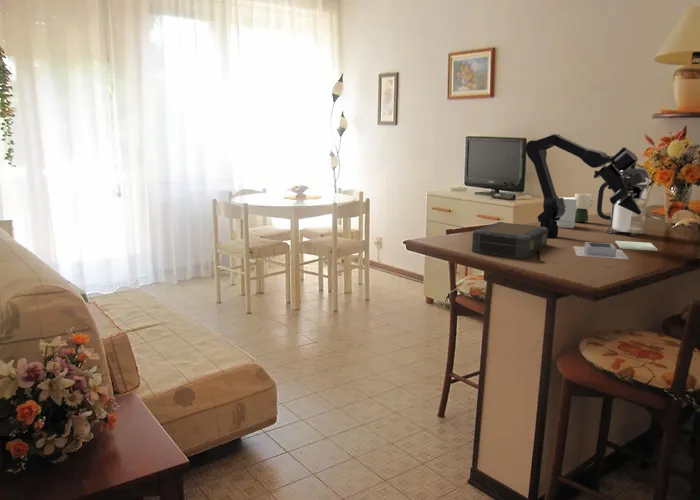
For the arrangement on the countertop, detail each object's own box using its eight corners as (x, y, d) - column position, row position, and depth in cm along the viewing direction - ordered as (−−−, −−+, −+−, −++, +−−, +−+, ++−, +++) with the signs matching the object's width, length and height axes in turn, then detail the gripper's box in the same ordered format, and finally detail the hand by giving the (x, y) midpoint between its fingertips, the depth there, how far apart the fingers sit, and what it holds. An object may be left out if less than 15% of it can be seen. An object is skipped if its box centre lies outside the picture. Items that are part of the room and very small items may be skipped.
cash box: (494, 241, 223) (495, 221, 222) (547, 248, 212) (549, 227, 210) (468, 252, 203) (469, 230, 201) (525, 260, 192) (527, 237, 190)
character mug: (595, 222, 267) (598, 194, 264) (589, 224, 262) (592, 195, 259) (572, 219, 274) (574, 192, 272) (565, 221, 269) (568, 193, 267)
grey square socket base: (576, 258, 195) (577, 248, 194) (572, 248, 210) (573, 239, 209) (628, 262, 190) (629, 251, 189) (620, 252, 205) (622, 242, 204)
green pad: (620, 251, 207) (620, 246, 207) (615, 244, 218) (615, 240, 218) (657, 253, 204) (657, 249, 203) (650, 246, 215) (650, 242, 215)
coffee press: (635, 230, 249) (644, 159, 242) (650, 237, 233) (660, 162, 227) (594, 229, 251) (601, 159, 244) (606, 236, 235) (614, 161, 229)
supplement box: (574, 228, 252) (577, 199, 249) (556, 227, 254) (559, 198, 251) (571, 225, 259) (574, 197, 257) (554, 224, 261) (556, 196, 258)
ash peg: (635, 233, 206) (640, 200, 203) (626, 231, 210) (630, 198, 207) (645, 233, 207) (650, 199, 204) (636, 230, 211) (640, 198, 209)
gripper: (622, 166, 199) (653, 201, 194) (641, 163, 213) (670, 196, 207) (597, 186, 207) (625, 221, 201) (617, 183, 220) (644, 215, 214)
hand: (642, 213), depth 206 cm, fingers closed on ash peg, 4 cm apart
